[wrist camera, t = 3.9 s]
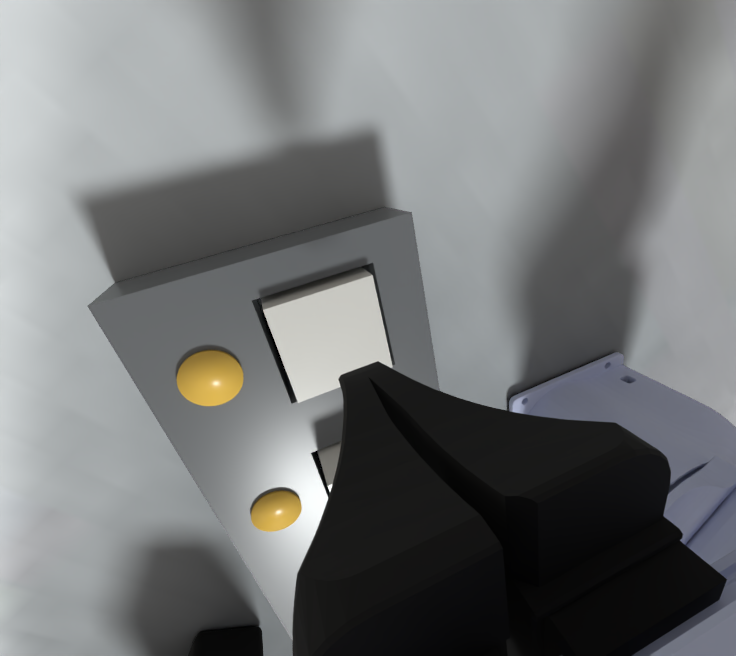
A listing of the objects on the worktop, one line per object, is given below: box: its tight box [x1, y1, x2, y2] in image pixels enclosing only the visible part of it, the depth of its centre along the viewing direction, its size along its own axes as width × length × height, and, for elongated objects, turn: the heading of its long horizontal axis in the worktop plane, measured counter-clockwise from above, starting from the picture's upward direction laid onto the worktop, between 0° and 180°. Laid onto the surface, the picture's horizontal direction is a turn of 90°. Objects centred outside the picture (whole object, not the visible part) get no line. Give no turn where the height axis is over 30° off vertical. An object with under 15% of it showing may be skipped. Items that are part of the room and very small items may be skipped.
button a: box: [261, 267, 393, 403], centre depth 16 cm, size 4×4×3 cm
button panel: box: [88, 207, 440, 641], centre depth 20 cm, size 12×24×3 cm, turn 13°
